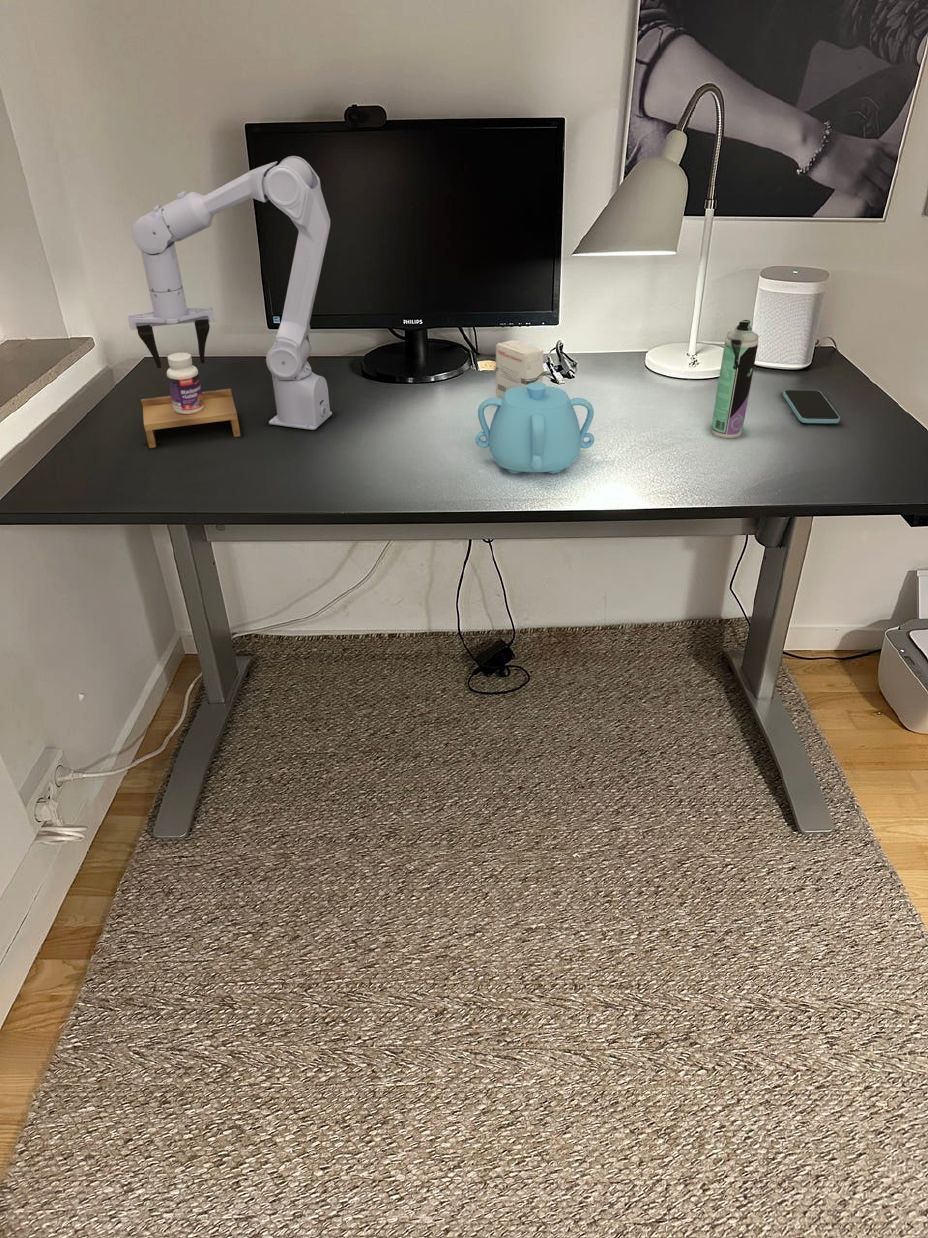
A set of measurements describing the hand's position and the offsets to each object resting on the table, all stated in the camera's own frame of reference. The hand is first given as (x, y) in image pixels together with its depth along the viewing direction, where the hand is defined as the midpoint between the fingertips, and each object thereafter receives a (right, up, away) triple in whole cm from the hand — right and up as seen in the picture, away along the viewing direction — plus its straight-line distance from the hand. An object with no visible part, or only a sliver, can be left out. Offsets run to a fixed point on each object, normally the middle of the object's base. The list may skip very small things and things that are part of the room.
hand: (181, 363), depth 165 cm
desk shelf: (+2, -12, +1) cm, 13 cm away
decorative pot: (+64, -20, -11) cm, 67 cm away
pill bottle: (+2, -9, -2) cm, 9 cm away
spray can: (+99, -13, -2) cm, 100 cm away
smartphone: (+117, -7, +6) cm, 118 cm away
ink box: (+62, -6, +9) cm, 63 cm away
